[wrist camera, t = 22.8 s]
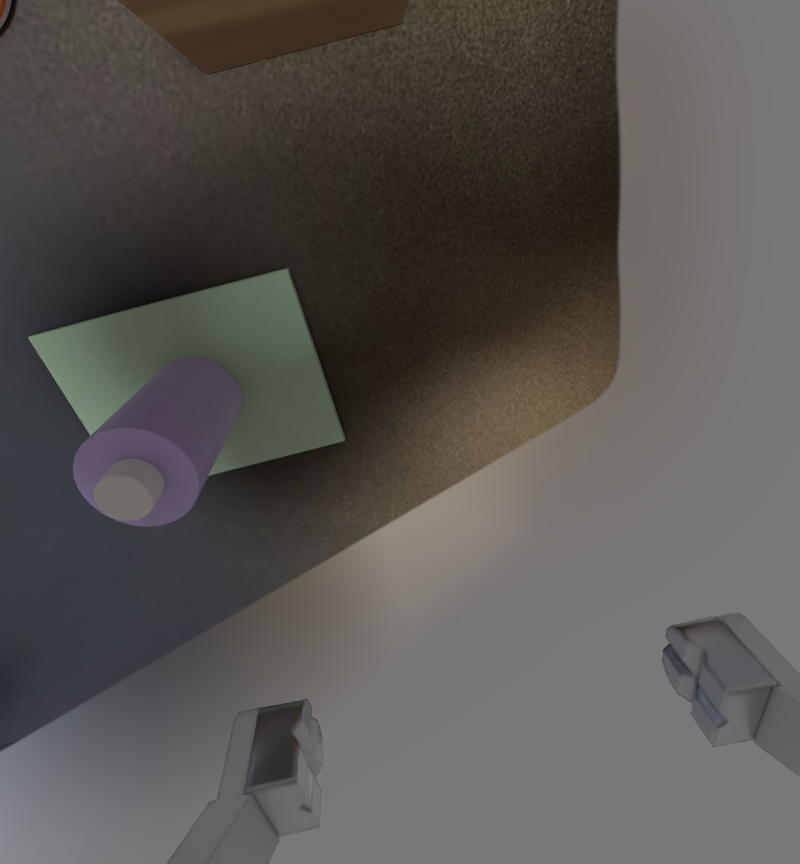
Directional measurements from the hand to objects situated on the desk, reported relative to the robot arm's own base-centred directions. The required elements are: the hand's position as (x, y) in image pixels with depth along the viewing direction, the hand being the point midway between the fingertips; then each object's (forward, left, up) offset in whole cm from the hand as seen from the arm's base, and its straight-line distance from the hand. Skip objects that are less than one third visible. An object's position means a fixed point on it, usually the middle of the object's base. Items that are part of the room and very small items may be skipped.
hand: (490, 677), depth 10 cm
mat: (+11, +7, -23) cm, 27 cm away
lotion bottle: (+11, +7, -22) cm, 26 cm away
